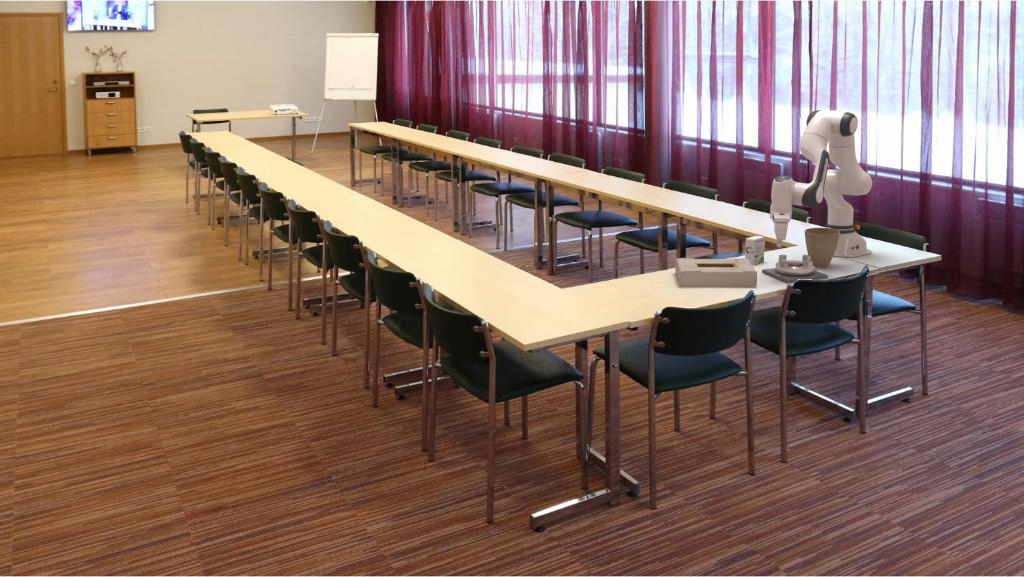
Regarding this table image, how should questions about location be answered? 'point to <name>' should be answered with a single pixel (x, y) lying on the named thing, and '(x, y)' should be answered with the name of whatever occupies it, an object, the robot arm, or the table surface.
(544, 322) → the table surface
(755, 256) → the ink box
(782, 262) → the ring nut
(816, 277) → the stud plate
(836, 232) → the plant pot
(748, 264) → the box
